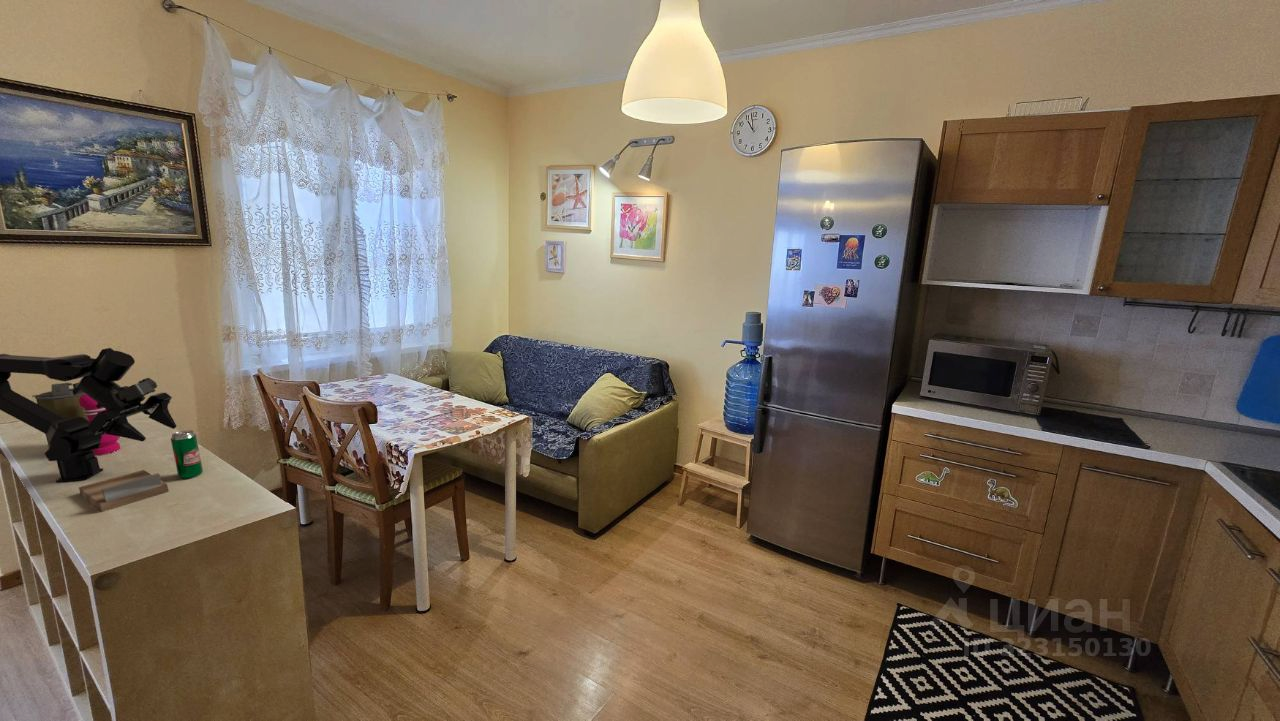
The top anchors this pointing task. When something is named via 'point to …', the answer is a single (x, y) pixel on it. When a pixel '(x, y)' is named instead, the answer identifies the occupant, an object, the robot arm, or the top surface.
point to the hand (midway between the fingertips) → (160, 433)
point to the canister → (61, 402)
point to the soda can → (186, 454)
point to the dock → (123, 489)
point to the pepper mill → (107, 441)
